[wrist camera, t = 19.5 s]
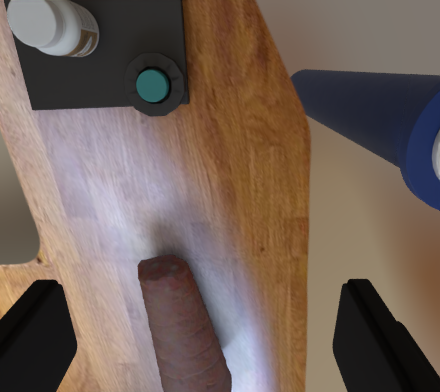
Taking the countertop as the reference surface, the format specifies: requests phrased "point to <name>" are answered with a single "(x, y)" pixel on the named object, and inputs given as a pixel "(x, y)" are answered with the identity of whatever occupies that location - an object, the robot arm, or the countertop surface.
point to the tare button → (152, 85)
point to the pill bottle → (54, 26)
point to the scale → (113, 60)
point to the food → (181, 328)
